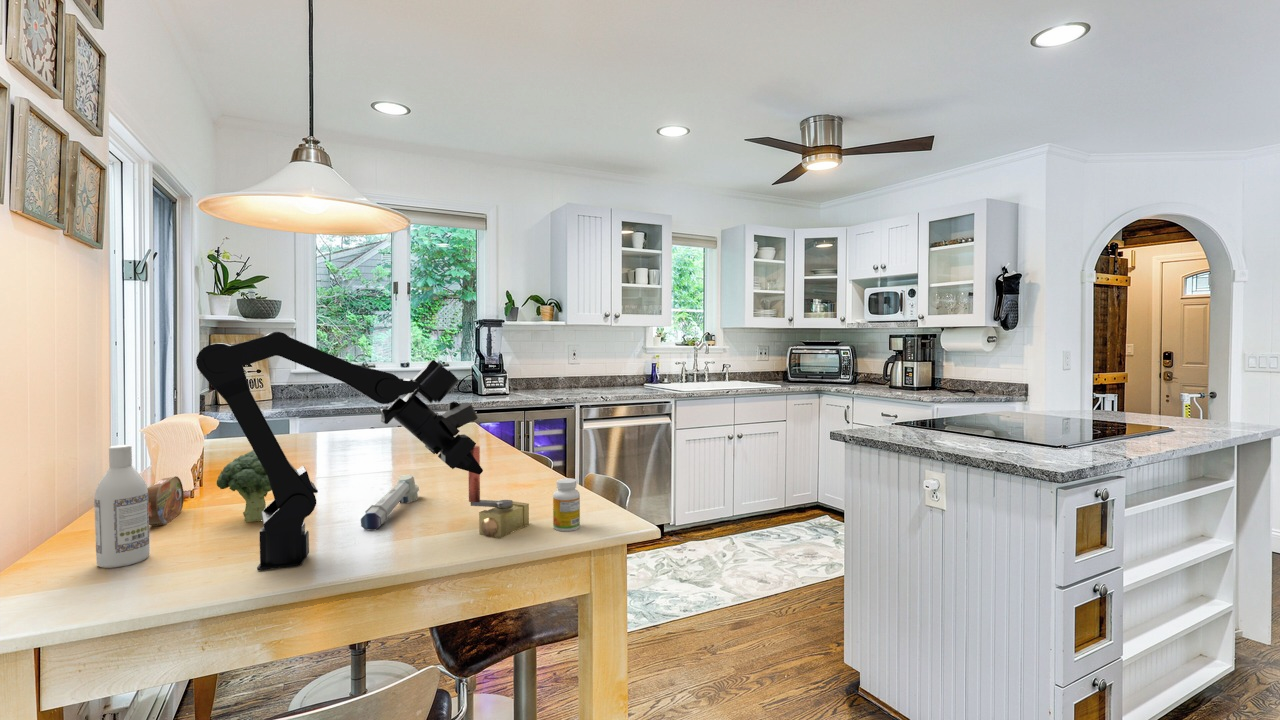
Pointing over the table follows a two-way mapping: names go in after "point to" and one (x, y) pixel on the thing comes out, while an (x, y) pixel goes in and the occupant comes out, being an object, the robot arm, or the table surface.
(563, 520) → the supplement bottle
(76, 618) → the table surface
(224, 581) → the table surface
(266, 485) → the vegetable
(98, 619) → the table surface
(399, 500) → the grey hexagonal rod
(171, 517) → the tin
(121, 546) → the bath foam
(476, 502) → the lever
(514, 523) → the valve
